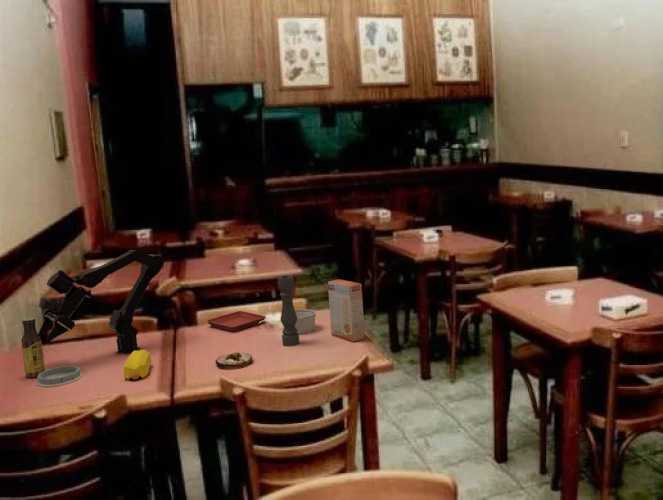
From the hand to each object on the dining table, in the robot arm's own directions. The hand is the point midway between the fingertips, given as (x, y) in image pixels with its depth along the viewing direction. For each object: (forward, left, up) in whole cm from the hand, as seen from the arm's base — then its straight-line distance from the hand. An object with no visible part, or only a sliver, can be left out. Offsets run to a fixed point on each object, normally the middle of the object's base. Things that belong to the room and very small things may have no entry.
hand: (42, 338), depth 222 cm
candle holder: (-78, -35, -12) cm, 86 cm away
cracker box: (-97, -44, -12) cm, 107 cm away
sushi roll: (-65, -13, -13) cm, 67 cm away
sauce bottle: (+2, +3, -12) cm, 13 cm away
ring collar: (-10, +6, -12) cm, 17 cm away
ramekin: (-76, -52, -12) cm, 93 cm away
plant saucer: (-46, -59, -13) cm, 76 cm away
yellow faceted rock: (-35, -2, -12) cm, 37 cm away
